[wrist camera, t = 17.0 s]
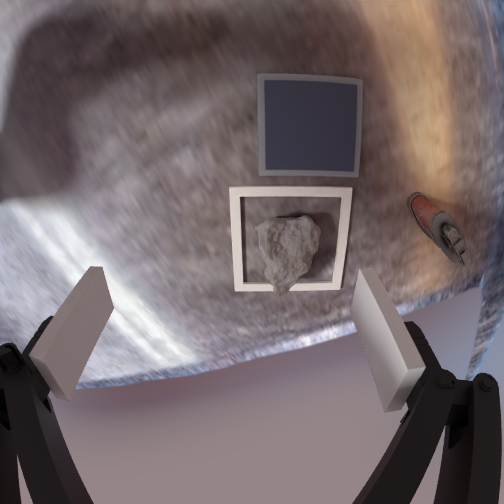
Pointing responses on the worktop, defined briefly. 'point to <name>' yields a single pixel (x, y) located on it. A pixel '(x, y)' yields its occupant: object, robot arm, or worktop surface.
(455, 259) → the lighter
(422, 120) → the worktop surface
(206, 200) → the worktop surface
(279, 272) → the stone
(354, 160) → the ink pad
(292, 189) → the white flat square frame
